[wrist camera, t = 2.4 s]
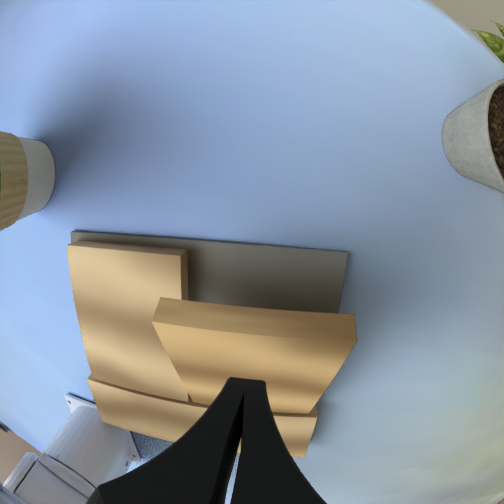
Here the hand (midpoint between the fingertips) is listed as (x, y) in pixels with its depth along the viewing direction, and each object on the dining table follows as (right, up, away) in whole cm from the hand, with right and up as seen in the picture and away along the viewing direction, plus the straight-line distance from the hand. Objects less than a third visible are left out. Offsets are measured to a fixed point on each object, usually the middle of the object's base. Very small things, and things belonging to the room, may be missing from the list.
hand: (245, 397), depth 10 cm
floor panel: (-4, -3, +11) cm, 12 cm away
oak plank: (0, -1, +7) cm, 7 cm away
